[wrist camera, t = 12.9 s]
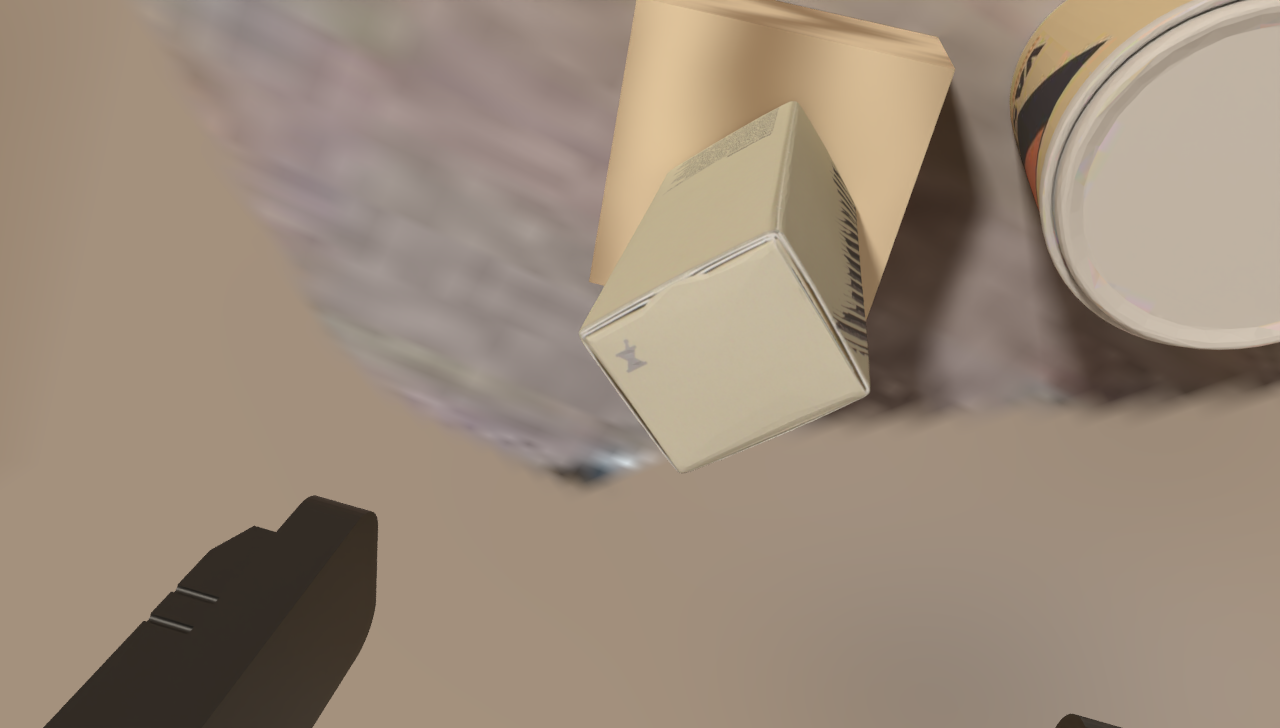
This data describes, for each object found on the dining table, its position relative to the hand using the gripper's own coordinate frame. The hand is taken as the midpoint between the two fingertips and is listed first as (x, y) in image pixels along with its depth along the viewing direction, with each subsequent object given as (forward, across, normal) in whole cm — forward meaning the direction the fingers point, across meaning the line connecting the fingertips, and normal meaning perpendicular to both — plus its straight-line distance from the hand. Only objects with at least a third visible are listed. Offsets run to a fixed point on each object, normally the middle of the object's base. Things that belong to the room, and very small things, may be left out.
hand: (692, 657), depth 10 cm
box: (+22, +1, +2) cm, 22 cm away
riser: (+28, +1, +2) cm, 28 cm away
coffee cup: (+28, -11, -3) cm, 30 cm away
